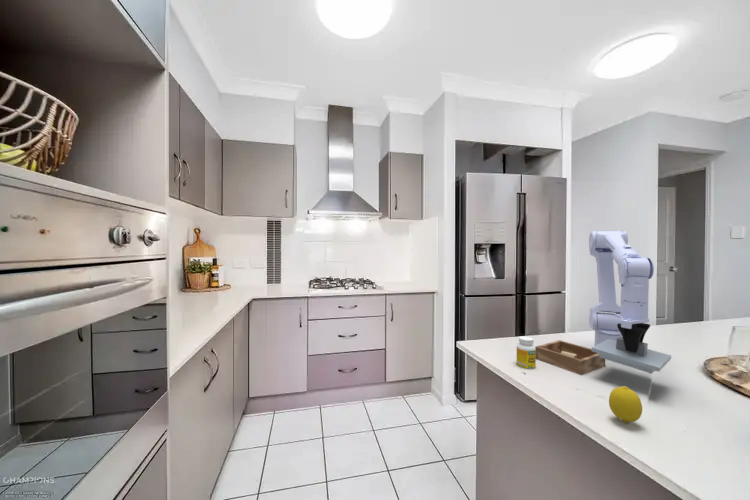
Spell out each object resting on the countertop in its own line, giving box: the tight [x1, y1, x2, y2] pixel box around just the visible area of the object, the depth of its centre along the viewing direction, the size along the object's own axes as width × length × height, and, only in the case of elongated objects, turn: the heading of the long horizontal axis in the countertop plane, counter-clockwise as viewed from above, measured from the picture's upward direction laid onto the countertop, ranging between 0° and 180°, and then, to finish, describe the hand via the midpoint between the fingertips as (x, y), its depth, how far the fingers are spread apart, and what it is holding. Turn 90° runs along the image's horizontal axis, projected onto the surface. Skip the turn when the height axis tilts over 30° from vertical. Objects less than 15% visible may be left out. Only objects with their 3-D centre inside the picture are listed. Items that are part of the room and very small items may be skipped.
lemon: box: [608, 385, 643, 424], centre depth 64 cm, size 6×6×8 cm
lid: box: [591, 337, 672, 375], centre depth 81 cm, size 14×14×6 cm
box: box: [535, 339, 606, 376], centre depth 95 cm, size 14×14×5 cm
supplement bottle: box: [516, 335, 537, 370], centre depth 92 cm, size 5×5×10 cm
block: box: [561, 351, 577, 358], centre depth 96 cm, size 4×4×2 cm
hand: (633, 350), depth 81 cm, fingers closed on lid, 3 cm apart
